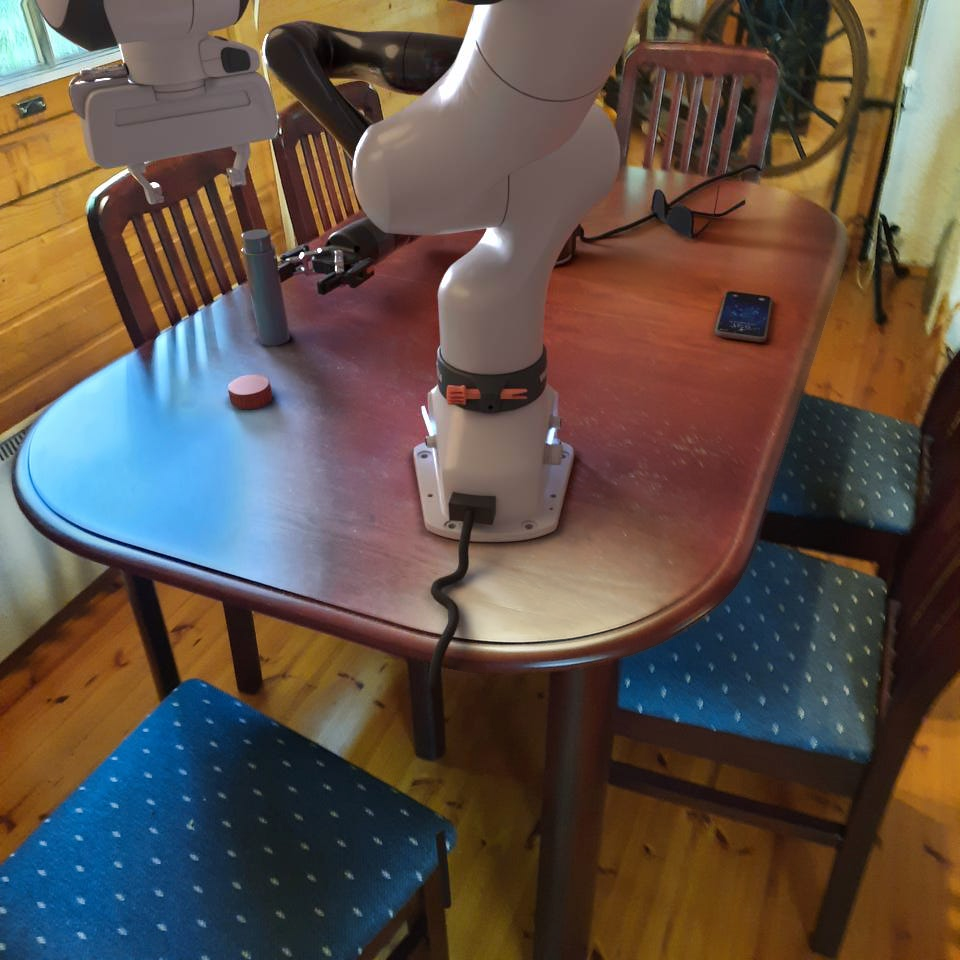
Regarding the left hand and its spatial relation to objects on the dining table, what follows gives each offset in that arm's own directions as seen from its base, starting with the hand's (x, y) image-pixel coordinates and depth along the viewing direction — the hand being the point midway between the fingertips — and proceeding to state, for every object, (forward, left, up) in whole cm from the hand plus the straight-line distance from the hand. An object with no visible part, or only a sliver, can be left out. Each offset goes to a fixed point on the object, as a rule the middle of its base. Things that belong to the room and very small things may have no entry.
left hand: (198, 193), depth 96 cm
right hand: (+23, -3, -21) cm, 31 cm away
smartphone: (+23, -70, -27) cm, 78 cm away
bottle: (+18, 0, -27) cm, 33 cm away
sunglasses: (+64, -70, -27) cm, 99 cm away
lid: (+1, -1, -25) cm, 25 cm away
